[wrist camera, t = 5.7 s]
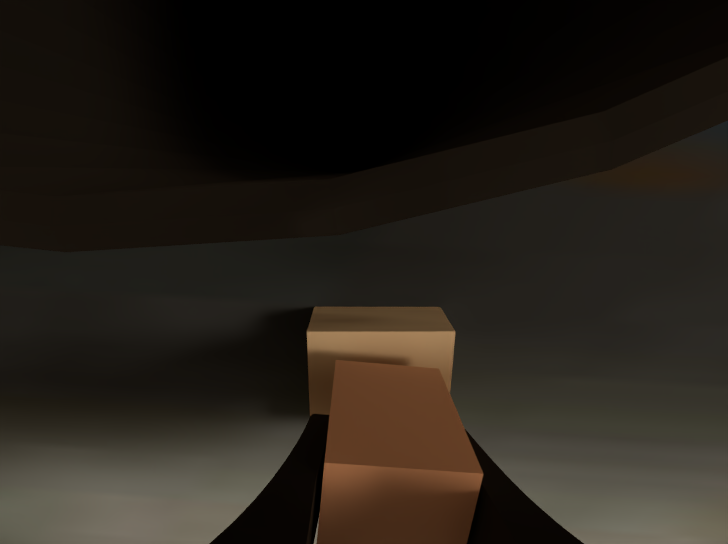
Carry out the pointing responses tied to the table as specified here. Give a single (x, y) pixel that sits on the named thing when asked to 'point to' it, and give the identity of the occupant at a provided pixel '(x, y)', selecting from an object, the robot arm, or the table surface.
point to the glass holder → (328, 109)
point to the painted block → (396, 459)
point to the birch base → (375, 343)
